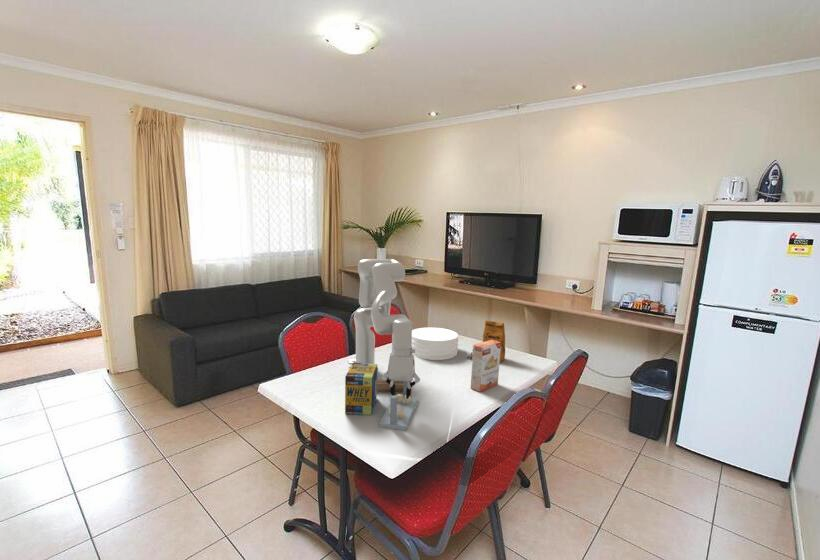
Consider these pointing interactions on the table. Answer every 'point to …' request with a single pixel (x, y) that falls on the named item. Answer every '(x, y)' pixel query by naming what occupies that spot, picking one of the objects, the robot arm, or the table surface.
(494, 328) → the coffee package
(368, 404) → the protein box
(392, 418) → the stand
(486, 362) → the cracker box
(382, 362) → the table surface
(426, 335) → the plate stack
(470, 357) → the house of cards
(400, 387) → the board
